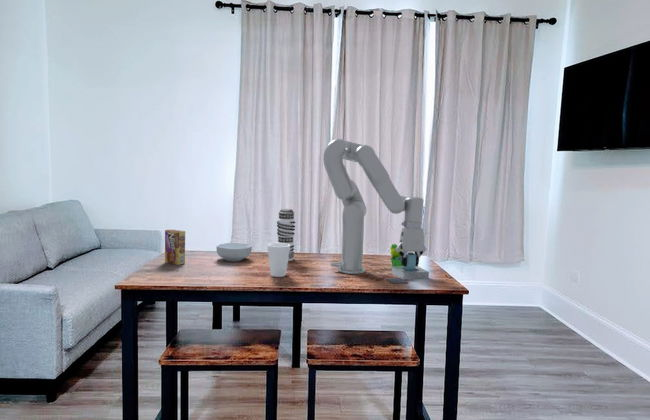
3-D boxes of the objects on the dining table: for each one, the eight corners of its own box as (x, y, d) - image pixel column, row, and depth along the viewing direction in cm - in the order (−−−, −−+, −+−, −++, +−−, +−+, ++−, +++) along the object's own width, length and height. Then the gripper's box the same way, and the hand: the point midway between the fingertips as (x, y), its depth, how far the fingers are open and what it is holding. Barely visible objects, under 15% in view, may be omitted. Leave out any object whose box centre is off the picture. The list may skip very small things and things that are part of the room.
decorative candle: (290, 256, 224) (291, 208, 221) (297, 260, 215) (298, 210, 213) (273, 257, 220) (274, 208, 217) (279, 261, 212) (281, 210, 209)
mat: (392, 284, 178) (392, 283, 178) (385, 279, 185) (385, 278, 185) (408, 283, 180) (408, 282, 180) (400, 278, 187) (400, 277, 187)
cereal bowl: (257, 261, 211) (258, 246, 210) (226, 265, 201) (226, 250, 200) (241, 254, 224) (241, 241, 224) (210, 258, 214) (210, 244, 213)
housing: (403, 279, 186) (403, 272, 185) (391, 272, 197) (391, 266, 197) (428, 278, 189) (428, 271, 189) (415, 271, 201) (415, 265, 200)
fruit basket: (406, 271, 201) (407, 247, 200) (387, 269, 204) (388, 245, 203) (409, 266, 212) (410, 243, 211) (391, 264, 215) (392, 241, 214)
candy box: (185, 263, 201) (185, 230, 199) (178, 265, 197) (178, 231, 196) (171, 261, 205) (171, 228, 203) (164, 262, 201) (164, 229, 199)
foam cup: (264, 272, 189) (265, 243, 188) (285, 271, 193) (285, 242, 191) (270, 278, 180) (271, 247, 179) (292, 276, 184) (292, 246, 183)
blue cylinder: (406, 275, 190) (408, 254, 189) (401, 272, 195) (403, 251, 194) (416, 275, 192) (418, 254, 191) (411, 272, 196) (413, 251, 195)
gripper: (398, 226, 185) (395, 268, 187) (434, 226, 190) (431, 267, 192) (391, 223, 192) (388, 264, 194) (425, 224, 197) (422, 263, 199)
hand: (409, 265), depth 193 cm, fingers closed on blue cylinder, 5 cm apart
